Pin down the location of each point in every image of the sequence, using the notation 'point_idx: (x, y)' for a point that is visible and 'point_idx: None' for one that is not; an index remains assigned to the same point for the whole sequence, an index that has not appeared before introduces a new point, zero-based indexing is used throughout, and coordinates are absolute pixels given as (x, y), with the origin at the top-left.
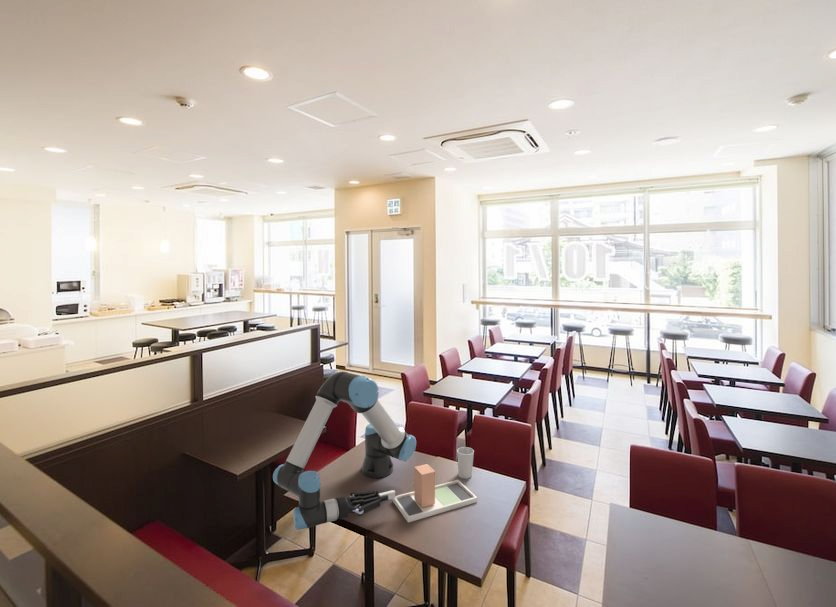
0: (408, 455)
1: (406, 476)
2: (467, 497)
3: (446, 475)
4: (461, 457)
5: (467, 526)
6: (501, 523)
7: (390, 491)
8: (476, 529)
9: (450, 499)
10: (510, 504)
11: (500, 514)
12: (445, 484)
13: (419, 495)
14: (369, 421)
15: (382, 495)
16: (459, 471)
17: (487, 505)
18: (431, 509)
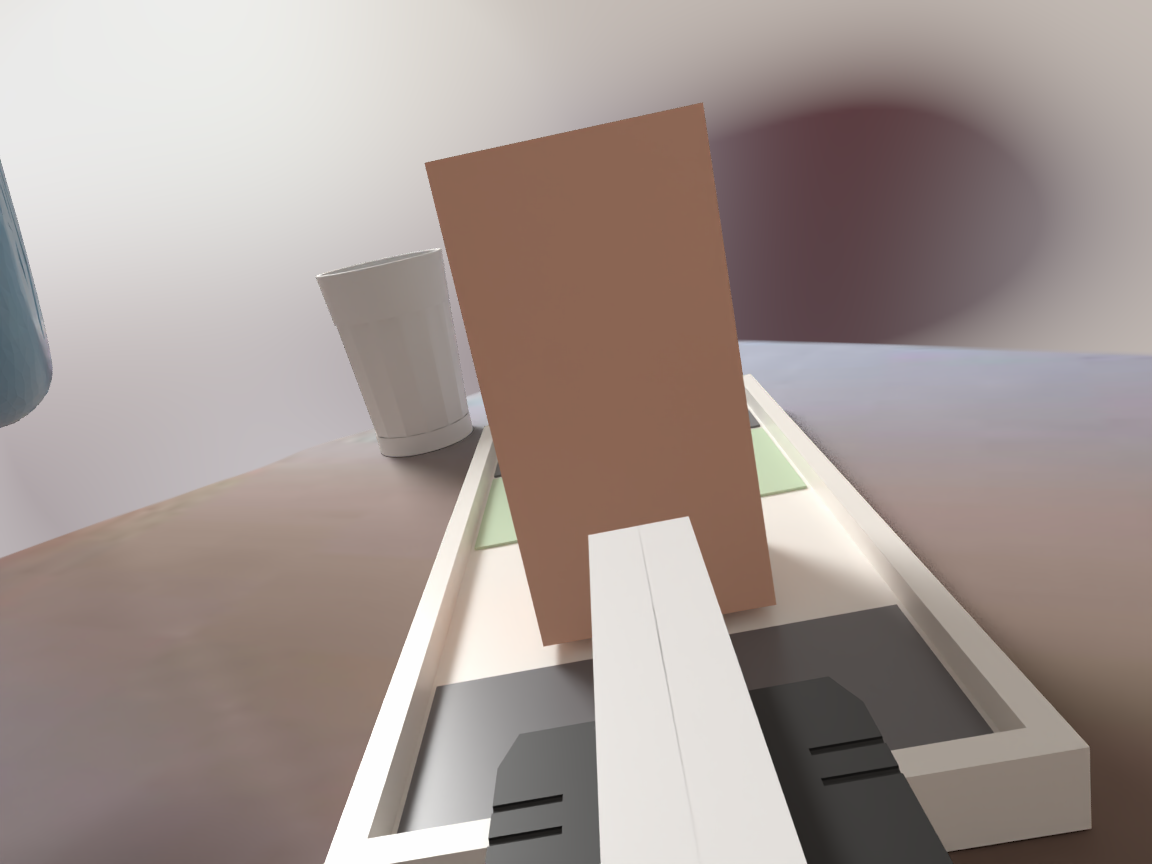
0: (34, 309)
1: (39, 698)
2: None
3: (345, 493)
4: (404, 289)
5: (1091, 432)
6: (1027, 352)
7: (630, 583)
8: (1128, 405)
9: None
10: (823, 344)
11: (921, 357)
12: (486, 467)
13: (681, 493)
14: None
15: (785, 798)
16: (409, 417)
17: (809, 384)
18: (816, 556)
